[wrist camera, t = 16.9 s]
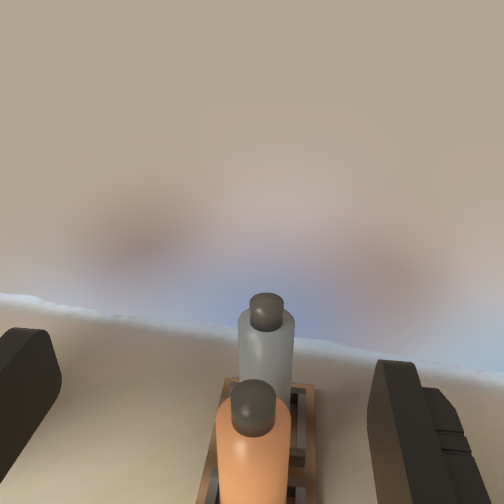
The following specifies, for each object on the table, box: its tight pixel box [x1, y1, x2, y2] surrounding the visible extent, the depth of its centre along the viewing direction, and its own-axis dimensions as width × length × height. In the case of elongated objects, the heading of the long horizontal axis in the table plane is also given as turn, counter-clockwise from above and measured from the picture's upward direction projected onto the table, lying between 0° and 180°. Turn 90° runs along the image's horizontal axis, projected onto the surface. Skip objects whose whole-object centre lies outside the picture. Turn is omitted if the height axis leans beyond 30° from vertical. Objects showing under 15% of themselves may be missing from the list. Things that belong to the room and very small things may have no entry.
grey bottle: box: [238, 293, 295, 412], centre depth 38 cm, size 5×5×15 cm
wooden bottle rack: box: [196, 378, 317, 504], centre depth 37 cm, size 22×10×3 cm, turn 173°
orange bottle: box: [215, 379, 291, 504], centre depth 29 cm, size 5×5×15 cm
